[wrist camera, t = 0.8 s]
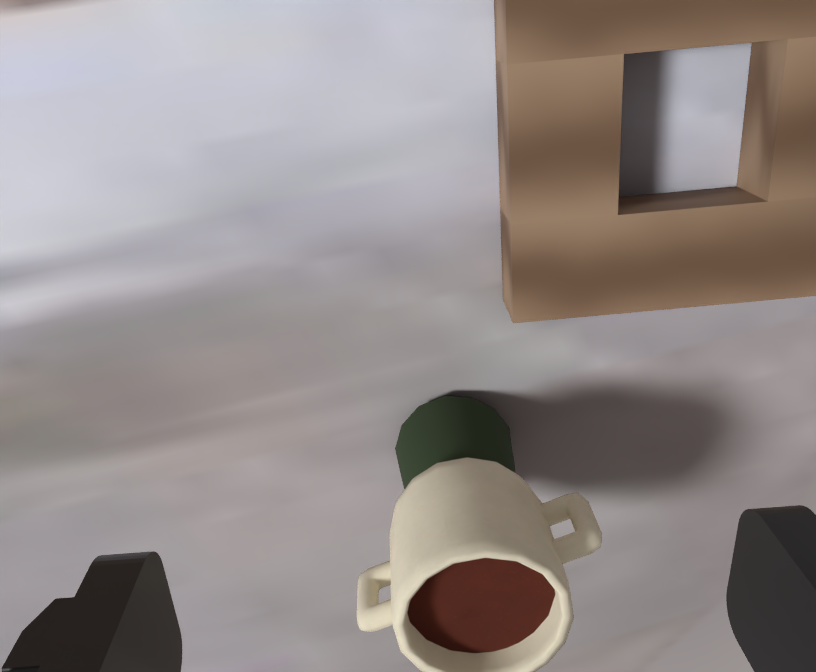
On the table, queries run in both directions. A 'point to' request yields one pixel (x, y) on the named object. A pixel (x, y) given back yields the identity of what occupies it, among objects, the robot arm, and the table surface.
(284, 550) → the table surface
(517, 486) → the character mug
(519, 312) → the walnut bottle holder
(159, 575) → the robot arm
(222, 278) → the table surface
